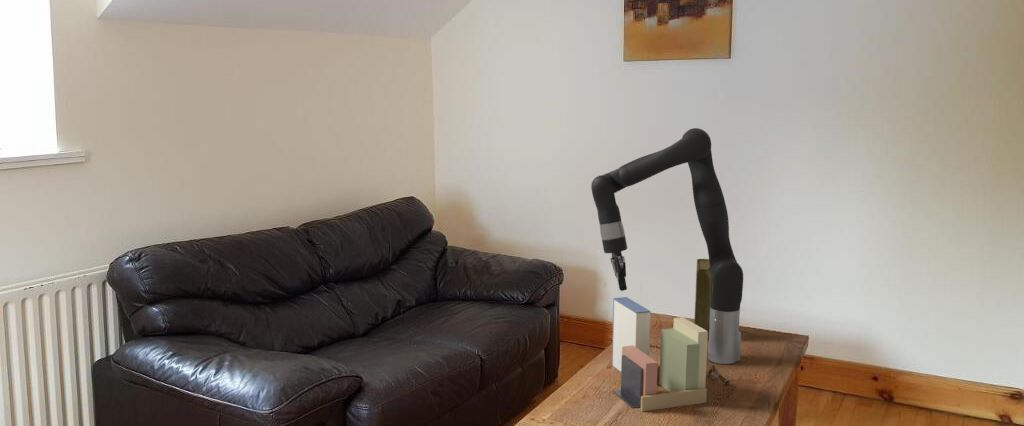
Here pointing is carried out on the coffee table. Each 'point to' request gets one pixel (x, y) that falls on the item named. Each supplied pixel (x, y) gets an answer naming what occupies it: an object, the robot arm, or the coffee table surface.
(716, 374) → the brown irregular piece
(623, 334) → the blue book
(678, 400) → the book rack
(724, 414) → the coffee table surface
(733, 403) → the coffee table surface
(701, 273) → the book
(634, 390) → the bookend
